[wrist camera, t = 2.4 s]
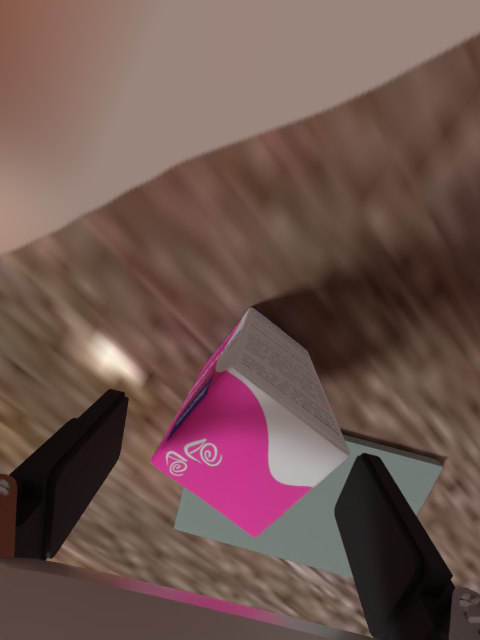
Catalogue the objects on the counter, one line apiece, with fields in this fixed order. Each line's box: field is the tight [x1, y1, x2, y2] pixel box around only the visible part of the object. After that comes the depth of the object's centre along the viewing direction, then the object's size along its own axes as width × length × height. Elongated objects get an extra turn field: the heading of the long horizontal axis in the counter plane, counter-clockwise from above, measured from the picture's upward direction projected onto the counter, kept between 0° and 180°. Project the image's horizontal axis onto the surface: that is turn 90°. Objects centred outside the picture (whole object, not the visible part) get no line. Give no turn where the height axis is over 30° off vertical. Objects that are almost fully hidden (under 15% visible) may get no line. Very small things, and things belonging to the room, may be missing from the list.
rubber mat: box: [174, 434, 443, 578], centre depth 24 cm, size 20×14×1 cm
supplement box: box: [151, 306, 350, 538], centre depth 15 cm, size 6×6×12 cm
